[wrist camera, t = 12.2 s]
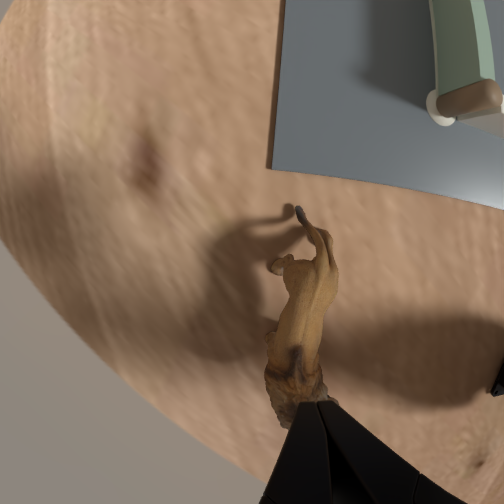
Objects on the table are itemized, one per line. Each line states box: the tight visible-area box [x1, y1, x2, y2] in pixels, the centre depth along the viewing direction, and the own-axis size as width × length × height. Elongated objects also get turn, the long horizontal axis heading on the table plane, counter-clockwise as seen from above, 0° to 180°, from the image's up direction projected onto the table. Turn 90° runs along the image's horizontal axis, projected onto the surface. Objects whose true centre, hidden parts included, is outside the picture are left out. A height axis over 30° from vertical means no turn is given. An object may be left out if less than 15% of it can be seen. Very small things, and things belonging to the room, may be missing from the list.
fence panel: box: [432, 0, 503, 118], centre depth 13 cm, size 12×2×5 cm, turn 174°
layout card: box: [272, 0, 504, 210], centre depth 16 cm, size 22×20×1 cm
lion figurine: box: [264, 206, 339, 430], centre depth 17 cm, size 12×4×7 cm, turn 2°
